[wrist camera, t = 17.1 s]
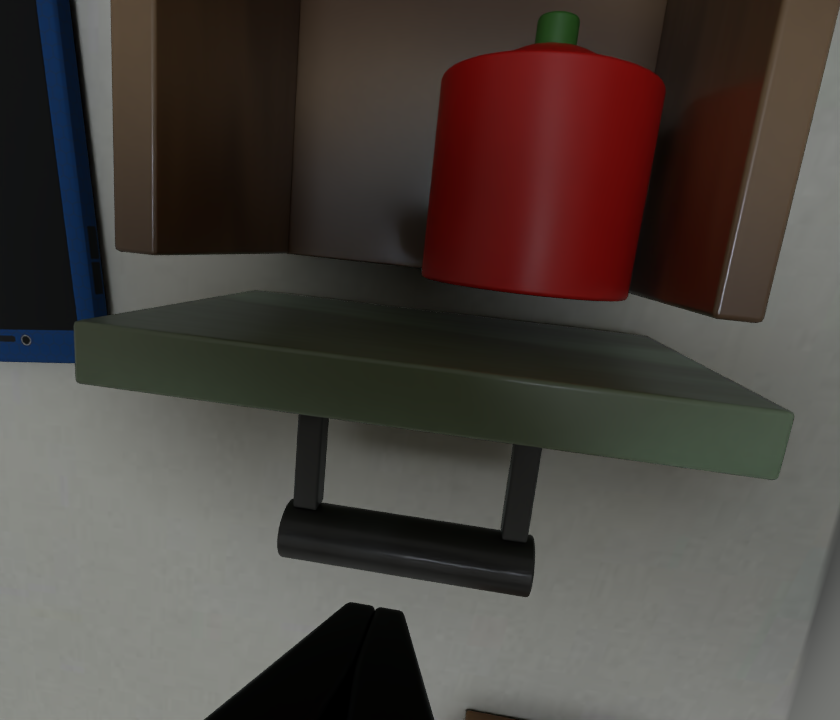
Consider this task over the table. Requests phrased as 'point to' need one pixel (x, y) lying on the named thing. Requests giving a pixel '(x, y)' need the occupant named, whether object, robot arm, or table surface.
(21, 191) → the cell phone
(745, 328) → the table surface
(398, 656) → the robot arm
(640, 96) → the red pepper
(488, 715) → the block
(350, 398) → the drawer
